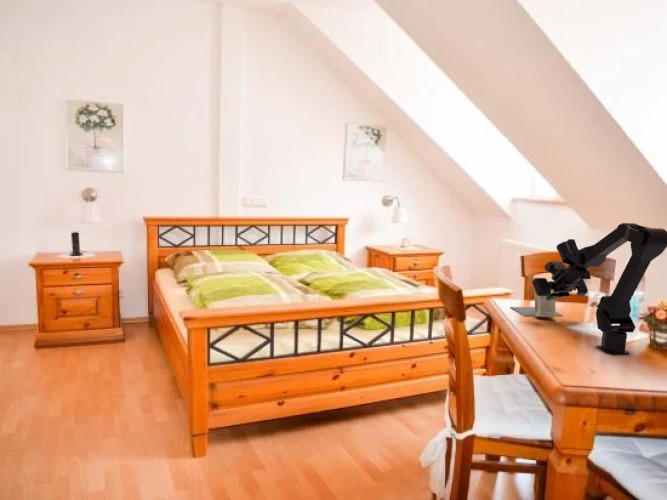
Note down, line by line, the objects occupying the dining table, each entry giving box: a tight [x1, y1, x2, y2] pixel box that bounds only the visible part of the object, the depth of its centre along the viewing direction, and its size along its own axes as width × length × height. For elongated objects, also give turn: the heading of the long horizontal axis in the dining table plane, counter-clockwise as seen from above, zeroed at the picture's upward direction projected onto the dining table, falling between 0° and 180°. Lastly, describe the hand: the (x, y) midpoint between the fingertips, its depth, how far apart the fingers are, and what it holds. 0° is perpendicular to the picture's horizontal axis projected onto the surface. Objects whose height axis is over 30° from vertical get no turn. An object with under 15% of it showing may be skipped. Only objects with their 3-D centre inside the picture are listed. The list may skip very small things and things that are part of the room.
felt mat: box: [509, 306, 564, 317], centre depth 198 cm, size 11×15×1 cm
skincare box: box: [534, 290, 557, 319], centre depth 190 cm, size 6×4×12 cm
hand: (547, 298), depth 188 cm, fingers closed
